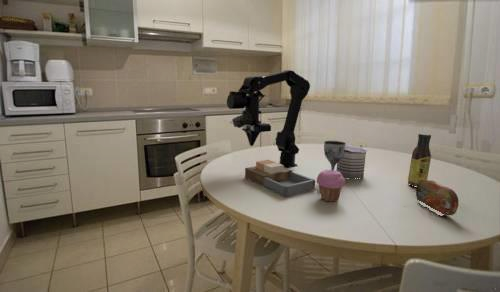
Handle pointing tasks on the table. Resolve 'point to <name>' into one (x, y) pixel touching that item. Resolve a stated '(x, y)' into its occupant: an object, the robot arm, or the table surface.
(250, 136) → the robot arm
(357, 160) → the can
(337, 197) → the cupcake
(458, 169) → the table surface
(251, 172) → the brown flat block
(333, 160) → the wine glass
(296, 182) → the tray
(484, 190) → the table surface
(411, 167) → the sauce bottle
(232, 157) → the table surface
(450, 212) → the reddish-brown rounded block
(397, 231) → the table surface
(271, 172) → the tile front
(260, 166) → the tile back
